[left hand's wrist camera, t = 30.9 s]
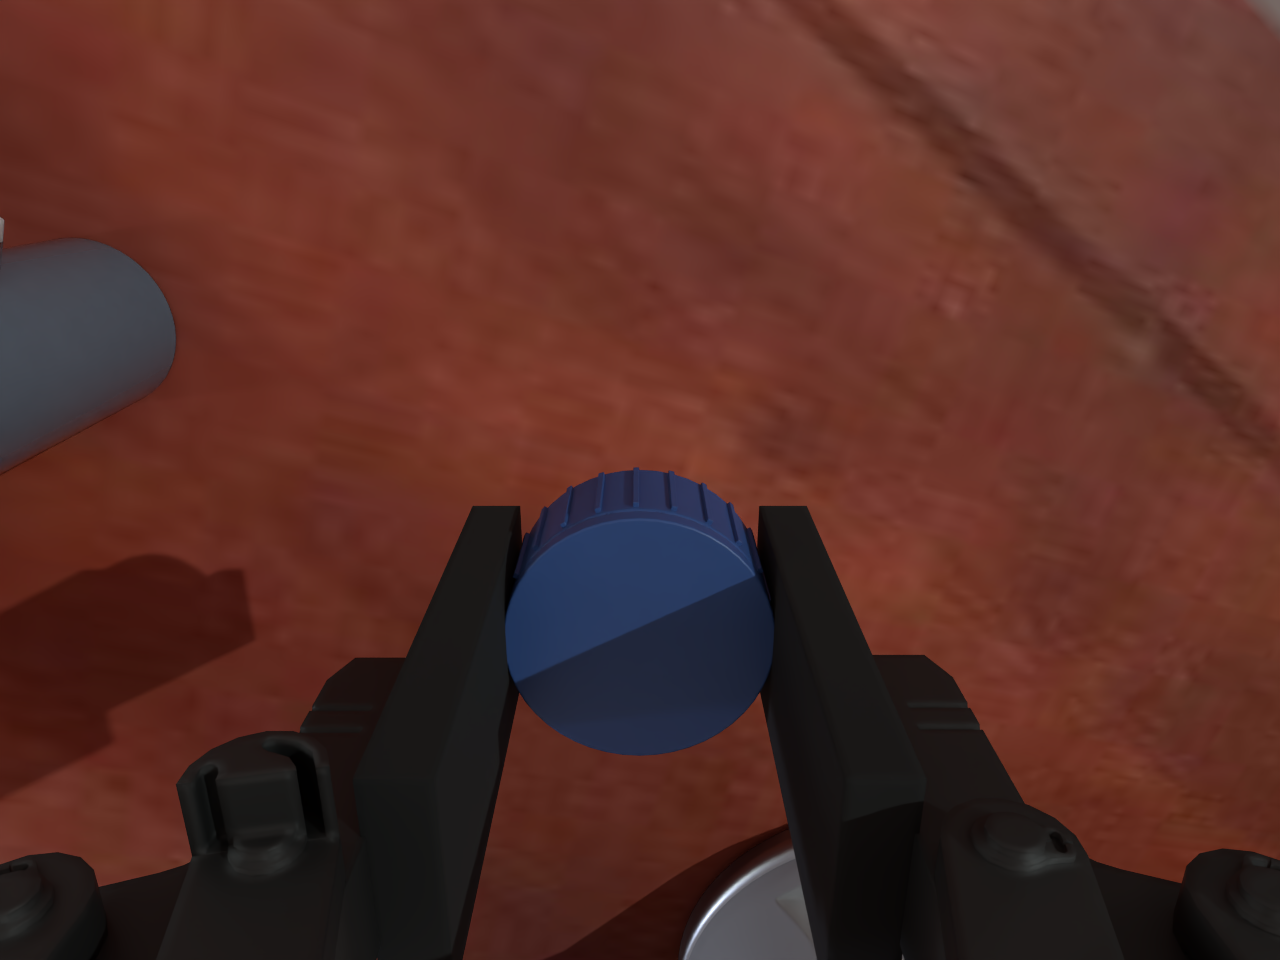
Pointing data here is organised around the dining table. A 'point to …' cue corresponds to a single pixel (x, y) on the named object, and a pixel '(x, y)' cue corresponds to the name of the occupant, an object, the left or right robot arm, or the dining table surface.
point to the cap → (639, 614)
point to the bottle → (74, 341)
